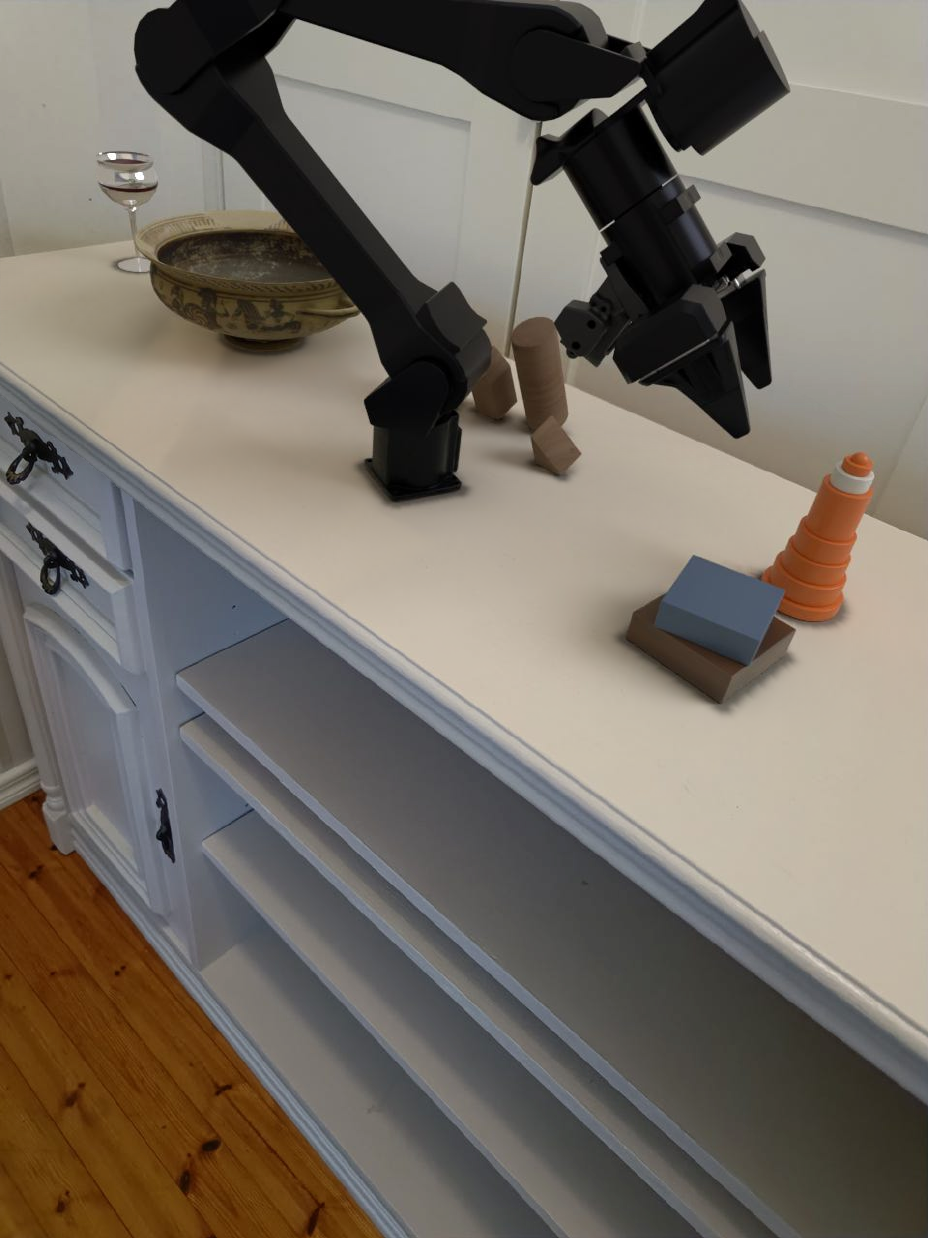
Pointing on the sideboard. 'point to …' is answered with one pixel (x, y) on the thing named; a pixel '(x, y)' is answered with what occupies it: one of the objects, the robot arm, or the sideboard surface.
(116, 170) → the wineglass
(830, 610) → the cone
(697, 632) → the top block
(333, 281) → the ceramic bowl
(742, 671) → the base block
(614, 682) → the sideboard surface
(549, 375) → the wooden block set
